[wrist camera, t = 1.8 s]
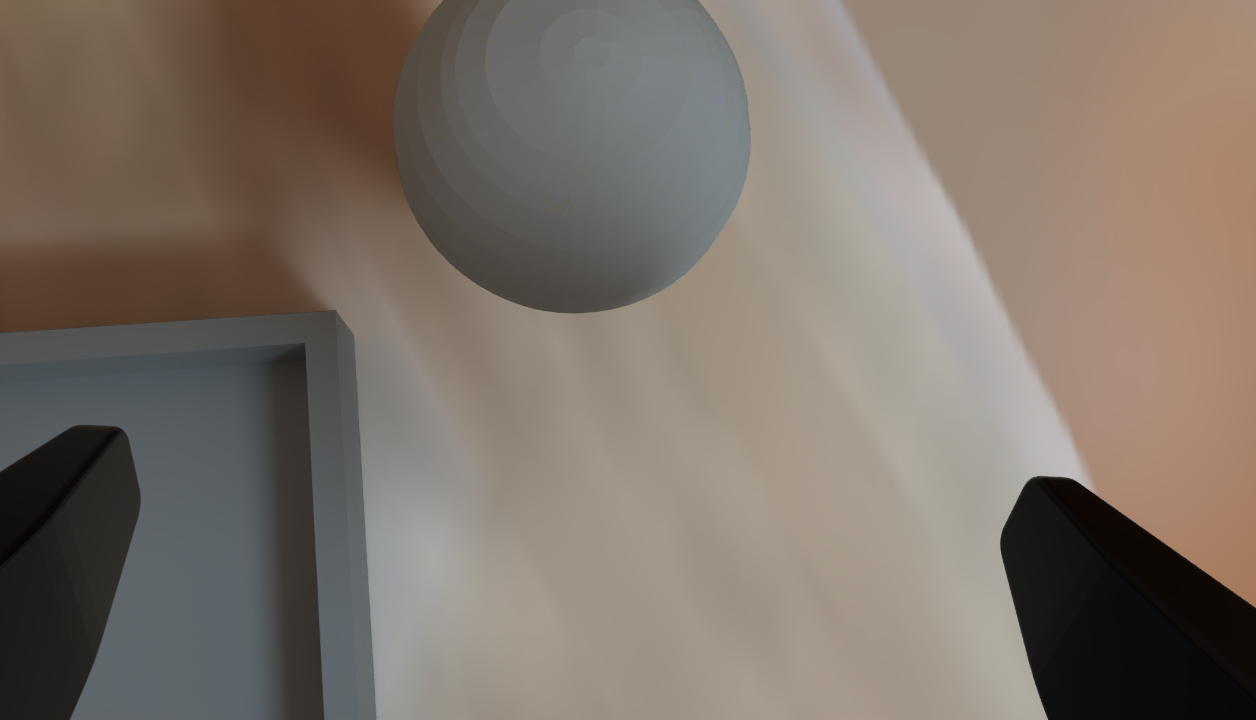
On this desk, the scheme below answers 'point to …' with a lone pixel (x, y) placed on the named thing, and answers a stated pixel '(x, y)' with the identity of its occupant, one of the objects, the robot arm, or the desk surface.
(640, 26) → the light bulb
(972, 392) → the desk surface
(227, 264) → the desk surface
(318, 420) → the tray
